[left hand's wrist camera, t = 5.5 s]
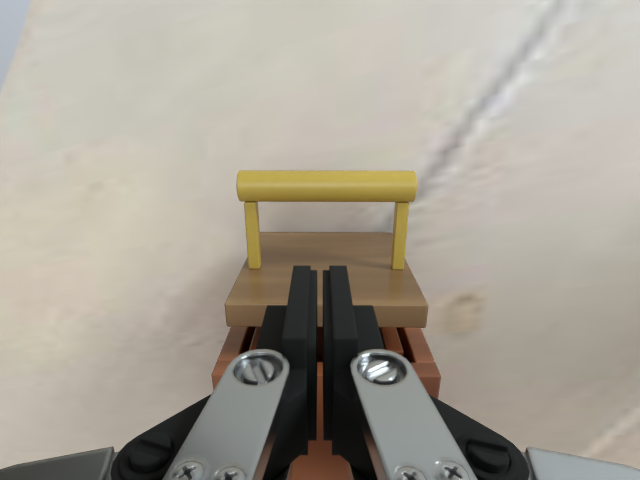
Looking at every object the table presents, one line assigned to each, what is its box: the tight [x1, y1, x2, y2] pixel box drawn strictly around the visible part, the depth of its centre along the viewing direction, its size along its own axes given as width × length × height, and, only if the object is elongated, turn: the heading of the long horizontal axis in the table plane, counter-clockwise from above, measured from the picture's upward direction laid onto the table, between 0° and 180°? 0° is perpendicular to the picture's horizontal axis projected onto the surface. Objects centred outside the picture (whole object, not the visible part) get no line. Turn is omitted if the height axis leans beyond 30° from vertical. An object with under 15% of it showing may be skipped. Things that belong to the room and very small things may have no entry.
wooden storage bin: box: [212, 326, 441, 480], centre depth 26 cm, size 20×10×12 cm, turn 0°
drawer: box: [225, 171, 428, 362], centre depth 24 cm, size 24×9×10 cm, turn 0°
